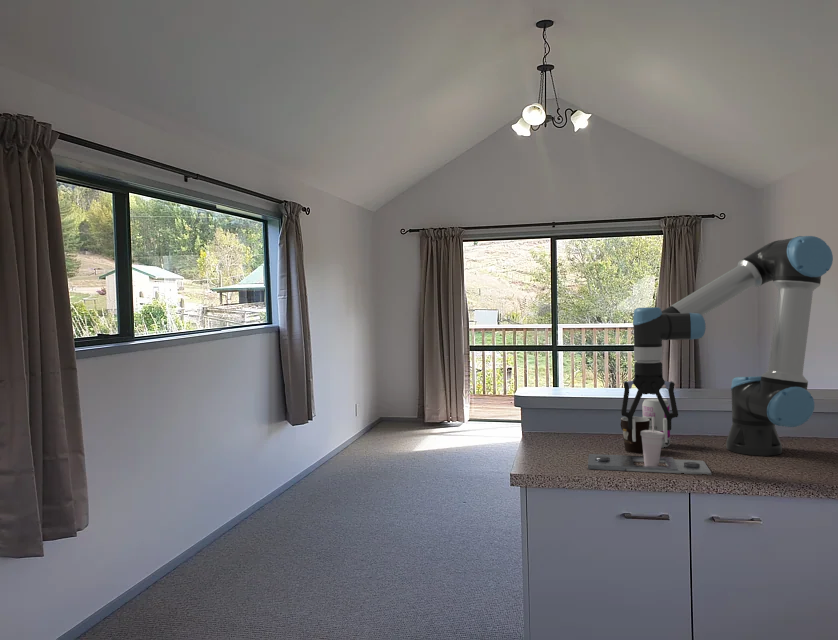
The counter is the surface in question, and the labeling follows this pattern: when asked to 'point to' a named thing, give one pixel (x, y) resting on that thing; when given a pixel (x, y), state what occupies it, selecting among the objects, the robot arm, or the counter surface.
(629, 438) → the coffee mug
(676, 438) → the counter surface
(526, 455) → the counter surface
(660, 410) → the supplement can
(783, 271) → the robot arm
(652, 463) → the smoothie
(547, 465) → the counter surface
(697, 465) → the link plate
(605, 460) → the link plate
